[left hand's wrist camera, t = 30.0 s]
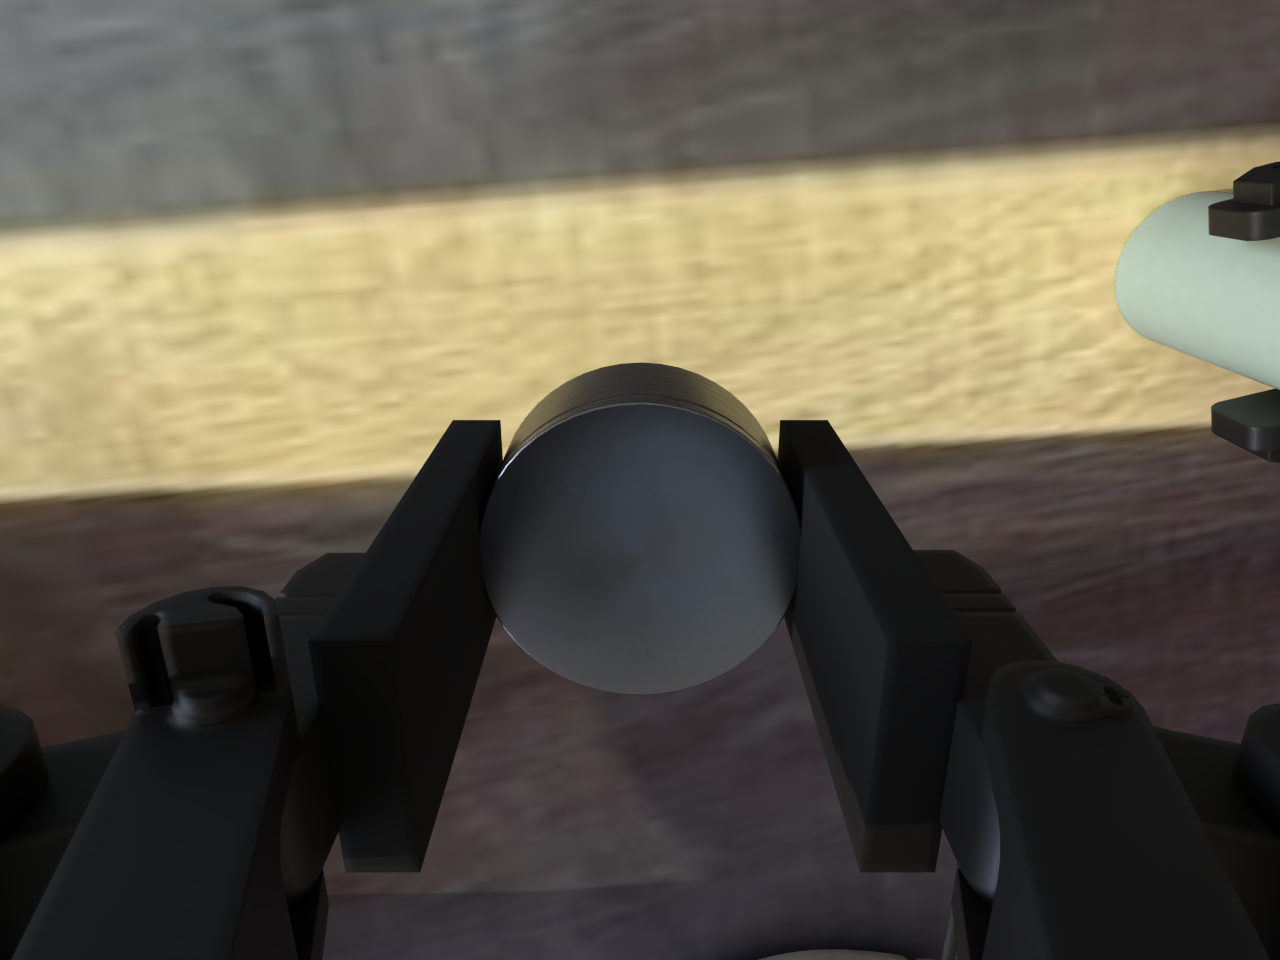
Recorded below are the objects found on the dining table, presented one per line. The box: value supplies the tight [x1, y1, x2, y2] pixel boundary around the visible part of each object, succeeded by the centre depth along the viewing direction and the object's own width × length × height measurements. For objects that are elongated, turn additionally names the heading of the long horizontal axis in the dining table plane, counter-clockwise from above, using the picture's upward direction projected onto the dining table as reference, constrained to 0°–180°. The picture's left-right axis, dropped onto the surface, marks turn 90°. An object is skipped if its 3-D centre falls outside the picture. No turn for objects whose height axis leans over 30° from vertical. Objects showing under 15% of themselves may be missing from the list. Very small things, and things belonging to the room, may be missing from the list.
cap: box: [480, 363, 801, 695], centre depth 13 cm, size 5×5×2 cm
